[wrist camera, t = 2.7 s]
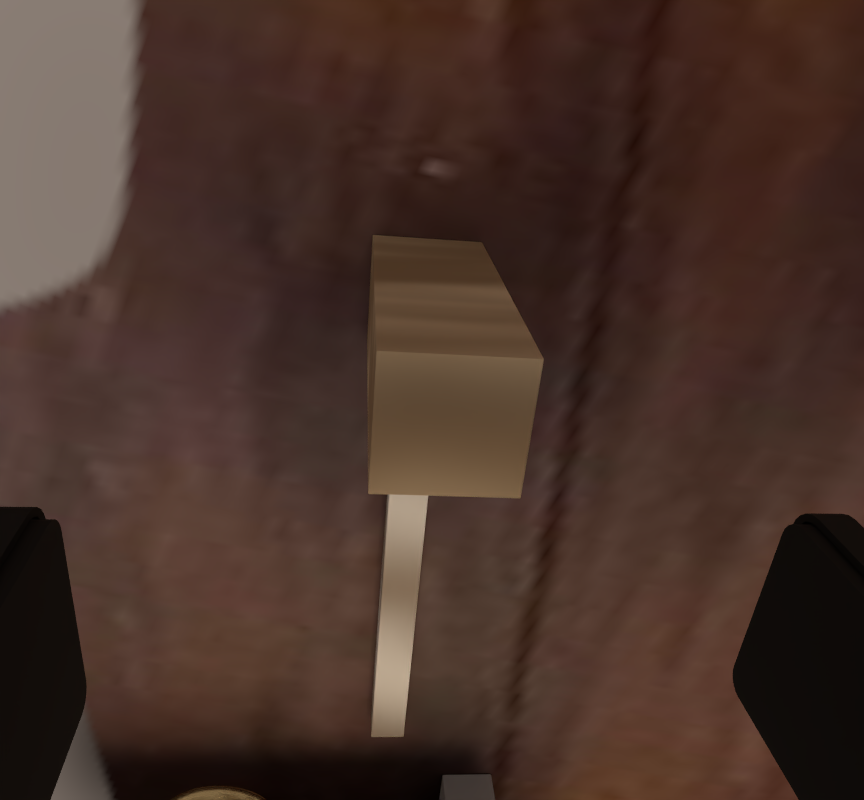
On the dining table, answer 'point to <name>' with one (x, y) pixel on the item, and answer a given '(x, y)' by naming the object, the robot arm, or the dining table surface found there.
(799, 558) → the robot arm
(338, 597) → the dining table surface
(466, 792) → the low cabinet
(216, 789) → the brass disc
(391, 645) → the wooden mallet
